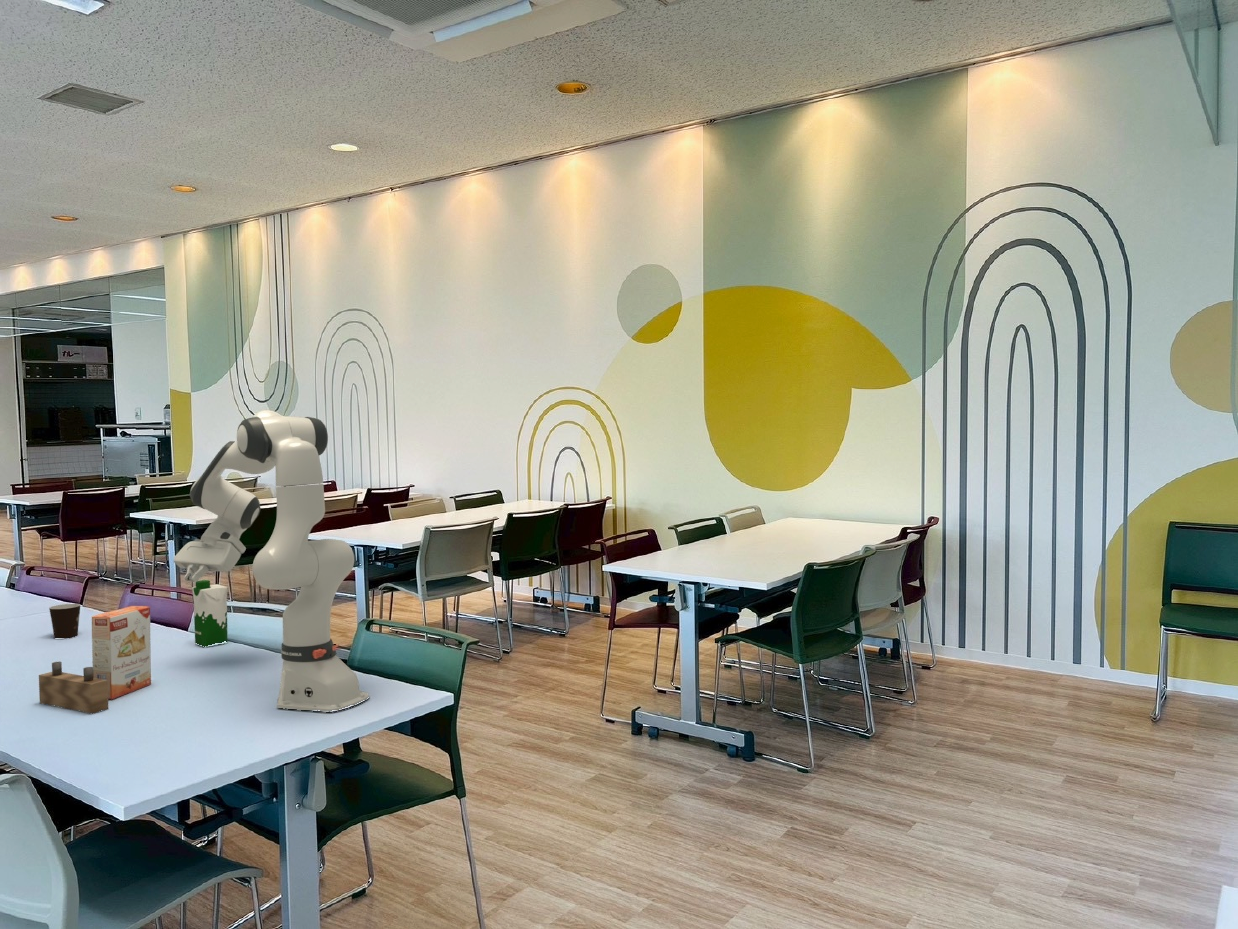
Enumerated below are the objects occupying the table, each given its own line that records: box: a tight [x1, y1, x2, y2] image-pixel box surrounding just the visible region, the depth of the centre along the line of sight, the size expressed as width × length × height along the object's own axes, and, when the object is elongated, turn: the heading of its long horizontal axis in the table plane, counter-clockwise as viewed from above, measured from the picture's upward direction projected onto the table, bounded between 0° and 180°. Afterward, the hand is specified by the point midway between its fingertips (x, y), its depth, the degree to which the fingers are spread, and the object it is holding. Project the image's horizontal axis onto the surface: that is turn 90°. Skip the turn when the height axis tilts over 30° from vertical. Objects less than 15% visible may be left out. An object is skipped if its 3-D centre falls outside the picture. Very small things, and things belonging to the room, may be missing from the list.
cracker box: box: [91, 605, 152, 700], centre depth 227 cm, size 14×6×21 cm, turn 168°
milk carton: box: [191, 579, 229, 648], centre depth 278 cm, size 9×9×20 cm
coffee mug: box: [49, 603, 81, 639], centre depth 291 cm, size 12×9×10 cm
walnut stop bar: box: [38, 661, 109, 715], centre depth 216 cm, size 20×4×10 cm, turn 64°
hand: (189, 580), depth 245 cm, fingers closed
